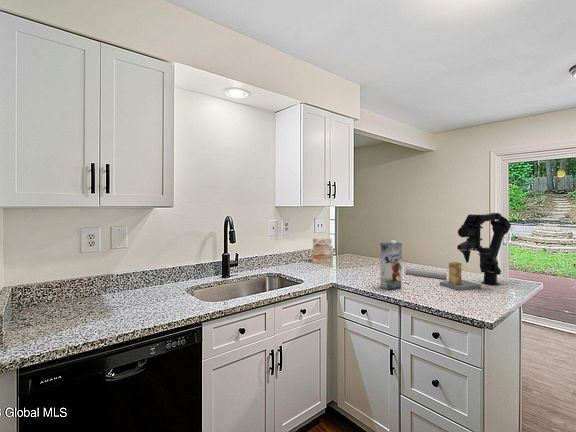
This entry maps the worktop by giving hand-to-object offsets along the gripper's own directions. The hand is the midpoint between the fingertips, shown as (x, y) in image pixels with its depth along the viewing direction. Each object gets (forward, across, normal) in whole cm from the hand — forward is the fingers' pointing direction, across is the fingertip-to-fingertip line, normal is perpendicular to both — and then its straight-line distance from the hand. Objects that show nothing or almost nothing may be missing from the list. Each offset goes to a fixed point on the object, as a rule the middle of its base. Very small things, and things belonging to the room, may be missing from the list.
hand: (474, 263), depth 174 cm
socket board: (+13, -2, -8) cm, 15 cm away
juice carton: (+13, -12, -46) cm, 50 cm away
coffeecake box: (+13, -98, -52) cm, 112 cm away
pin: (+13, -2, -11) cm, 17 cm away
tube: (+14, -29, -8) cm, 33 cm away
